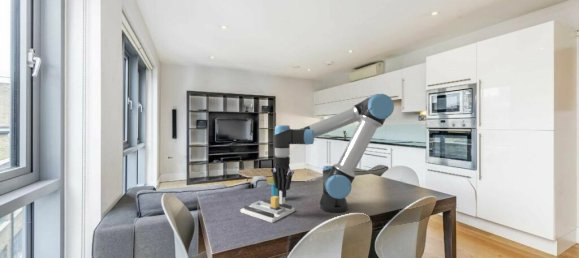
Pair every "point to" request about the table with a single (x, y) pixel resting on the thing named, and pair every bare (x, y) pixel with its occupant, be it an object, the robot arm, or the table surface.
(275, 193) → the cup
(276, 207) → the lever
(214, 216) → the table surface
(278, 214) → the panel
